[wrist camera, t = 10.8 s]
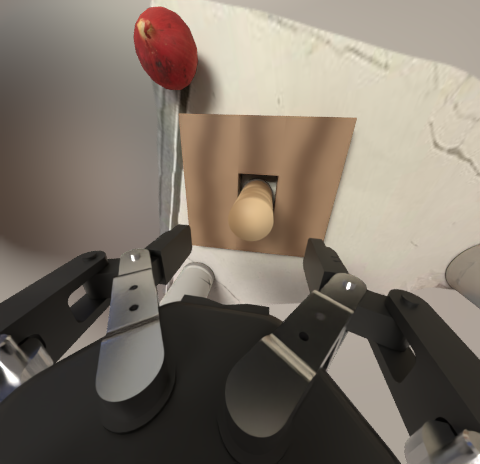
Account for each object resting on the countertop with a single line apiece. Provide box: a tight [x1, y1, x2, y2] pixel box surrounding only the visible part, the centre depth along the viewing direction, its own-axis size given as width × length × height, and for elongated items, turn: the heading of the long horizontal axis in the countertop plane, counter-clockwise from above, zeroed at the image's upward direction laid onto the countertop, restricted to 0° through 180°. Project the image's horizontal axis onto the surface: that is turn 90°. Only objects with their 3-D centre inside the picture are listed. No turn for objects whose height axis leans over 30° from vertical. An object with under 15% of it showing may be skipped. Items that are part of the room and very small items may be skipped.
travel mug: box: [160, 262, 214, 306], centre depth 26 cm, size 6×7×20 cm
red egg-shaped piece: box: [134, 7, 198, 90], centre depth 18 cm, size 6×6×8 cm
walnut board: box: [179, 114, 357, 257], centre depth 25 cm, size 20×18×2 cm
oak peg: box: [228, 178, 274, 241], centre depth 21 cm, size 4×4×12 cm
